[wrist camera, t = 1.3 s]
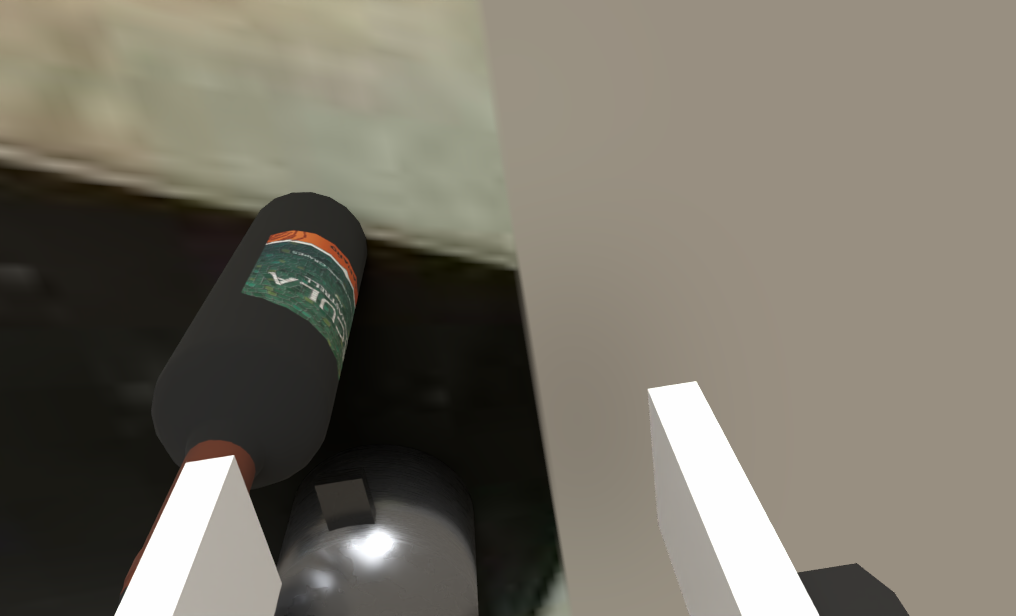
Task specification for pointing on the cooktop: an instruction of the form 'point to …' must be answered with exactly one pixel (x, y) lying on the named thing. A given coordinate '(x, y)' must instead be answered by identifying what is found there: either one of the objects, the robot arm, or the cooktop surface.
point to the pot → (379, 538)
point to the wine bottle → (265, 347)
